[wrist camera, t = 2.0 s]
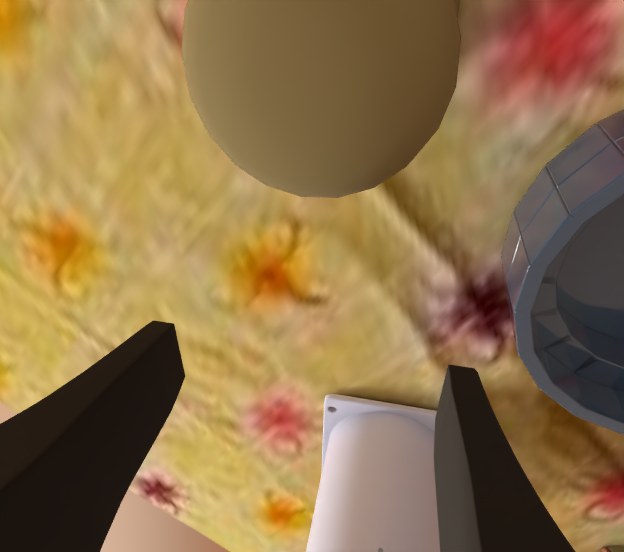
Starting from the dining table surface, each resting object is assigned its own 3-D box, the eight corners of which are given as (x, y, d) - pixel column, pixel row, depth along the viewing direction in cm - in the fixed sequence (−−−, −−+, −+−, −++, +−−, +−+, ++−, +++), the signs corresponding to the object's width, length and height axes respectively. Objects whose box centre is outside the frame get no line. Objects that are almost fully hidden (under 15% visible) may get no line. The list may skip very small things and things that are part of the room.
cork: (454, -133, 14) (491, -239, 5) (465, 79, 17) (498, 229, 9) (265, -75, 16) (60, -84, 7) (306, 108, 19) (200, 256, 10)
